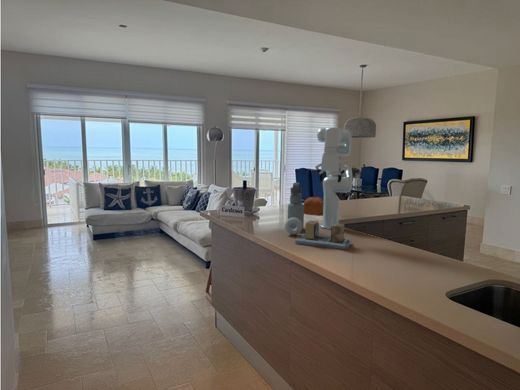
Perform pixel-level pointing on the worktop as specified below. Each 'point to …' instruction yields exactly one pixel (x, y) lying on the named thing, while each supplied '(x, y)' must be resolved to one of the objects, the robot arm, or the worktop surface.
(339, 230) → the tan wooden block
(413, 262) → the worktop surface
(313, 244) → the rail
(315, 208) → the bread
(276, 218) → the worktop surface
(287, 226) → the donut
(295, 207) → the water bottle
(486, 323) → the worktop surface
